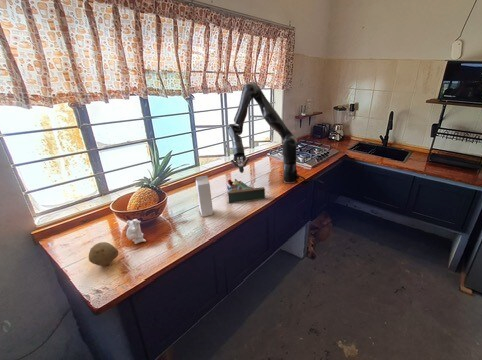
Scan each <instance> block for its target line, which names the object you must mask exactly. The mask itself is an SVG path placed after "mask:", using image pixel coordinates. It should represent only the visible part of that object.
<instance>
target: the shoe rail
mask: <svg viewBox="0 0 482 360" xmlns="http://www.w3.org/2000/svg"><path fill="white" fill-rule="evenodd" d="M227 195H228V196H227V197H228V204H232V203H240V202H248V201H249V202H250V201H257V200H261V199H262V200H263V199H266V188H265V186H261V187H252V189H243V190H235V191H228V192H227Z"/></svg>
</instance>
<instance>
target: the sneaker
mask: <svg viewBox="0 0 482 360" xmlns="http://www.w3.org/2000/svg"><path fill="white" fill-rule="evenodd" d="M252 188H253V187H252V186H249V185H247V184H246V183H244V181H242V180H238V179H237V178H235V179H234V180H233V181H232V180H231V179H228V180H227V184H226V190H227V191H226V192H227V193H228V191H235V190H243V189H252Z"/></svg>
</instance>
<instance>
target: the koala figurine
mask: <svg viewBox="0 0 482 360" xmlns="http://www.w3.org/2000/svg"><path fill="white" fill-rule="evenodd" d="M141 222H142V221H141V220H138V218H134V219H132V220H130V219H128V220H126V224H127V225H128V227H127V229H126V233H125V235H126V238H127V239H128V240H129V241H132V242H133V243H134V245H137V244H140V243H145V242H147V240H146V239H145V238H144V234H145V233H143V232H142V229H141Z"/></svg>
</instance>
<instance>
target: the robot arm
mask: <svg viewBox="0 0 482 360" xmlns="http://www.w3.org/2000/svg"><path fill="white" fill-rule="evenodd" d="M241 91H242V92H241V95H240V100H239V104H238V107H237V110H236V112H235V114H234V115H235V116H234V118H233V122H234V124H232V123H230V124H228V126H227V133H228V135H229V137H230V140H231V144H232V147H231V148H232V154H233V158H232V159H231V160H230V163H231V164H232V166H234V167H235V168H237V169H238V170H239V171H238V172H239V173H240V174H242V173H244V171H245V169H244V168H246V166H247V165H248V164H249V162H250V158H247V156H246V154H245V149H244V148H245V147H244V144H243V139H242V137H241V136H242V134H243V131H244V124H245V120H246V118H247V115H248V109H249V105H250V103H251V102H252V100H254V101H255V102H256V104H257V105H258V107H259V109H260V113H261V115H262V118H263V119H264V120H265V122H266V123H267V124H268V126H269V127H270V128H271V129H273V130H274V131H275V132H276V133H277V134H278V135H279V136H280V137H281V139H282V182H283V183H284V184H289V185H291V184H295V183H297V182H298V180H299V179H300V178H301V179H302V180H304V181H305V182H306V183H309V182H313V181H316V182H319V183H321V184H323V185H324V184H325V182H324V181H321V180H319V179H316V178H314V179H309V180H307V179H306V177H304V176H303V175H302V176H301V175H300V174H299V173H298V169H297V145H298V139H297V137H296V136H295V135H294V134H293V133H292V131H291V130H290V129H289V128H288V126H287V125H286V123H285V122H284V121H283V119H282V118H281V117H280V115H279V113H278V112H277V110H275V108H274V107H273V105H272V104H271V103H270V101H269V100H268V99H267V97H266V95H265V94H264V92H263V90H262V89H261V87H260V85H258V83H256V82H254V81H252V82H248V83H245V84H244V86H243V87H242V90H241Z"/></svg>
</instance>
